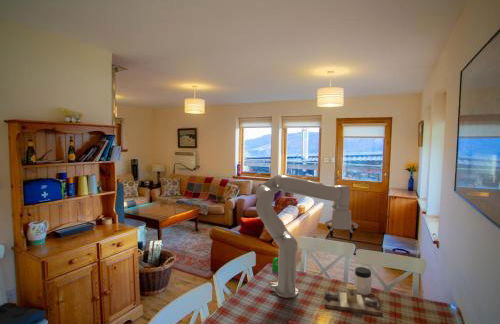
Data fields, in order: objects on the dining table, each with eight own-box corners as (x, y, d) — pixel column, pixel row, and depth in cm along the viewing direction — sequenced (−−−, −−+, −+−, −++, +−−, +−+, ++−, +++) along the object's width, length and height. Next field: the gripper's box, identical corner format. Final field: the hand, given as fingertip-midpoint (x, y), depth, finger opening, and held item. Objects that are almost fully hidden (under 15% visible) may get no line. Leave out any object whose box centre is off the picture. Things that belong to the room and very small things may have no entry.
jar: (362, 296, 152) (363, 274, 152) (350, 289, 159) (351, 268, 159) (374, 293, 156) (374, 271, 156) (362, 286, 163) (363, 265, 163)
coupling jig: (324, 307, 142) (324, 298, 141) (324, 293, 155) (324, 285, 155) (381, 315, 135) (382, 306, 135) (376, 300, 149) (376, 292, 148)
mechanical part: (278, 274, 178) (278, 261, 178) (272, 270, 183) (272, 258, 183) (292, 269, 185) (292, 257, 185) (286, 266, 190) (286, 254, 190)
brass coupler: (346, 302, 142) (347, 289, 142) (345, 296, 149) (346, 283, 148) (356, 304, 141) (357, 290, 141) (355, 297, 148) (355, 284, 147)
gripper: (325, 208, 157) (324, 239, 158) (359, 210, 153) (358, 242, 153) (325, 205, 164) (324, 235, 165) (357, 207, 160) (356, 237, 161)
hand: (340, 238), depth 159 cm, fingers open, 9 cm apart
